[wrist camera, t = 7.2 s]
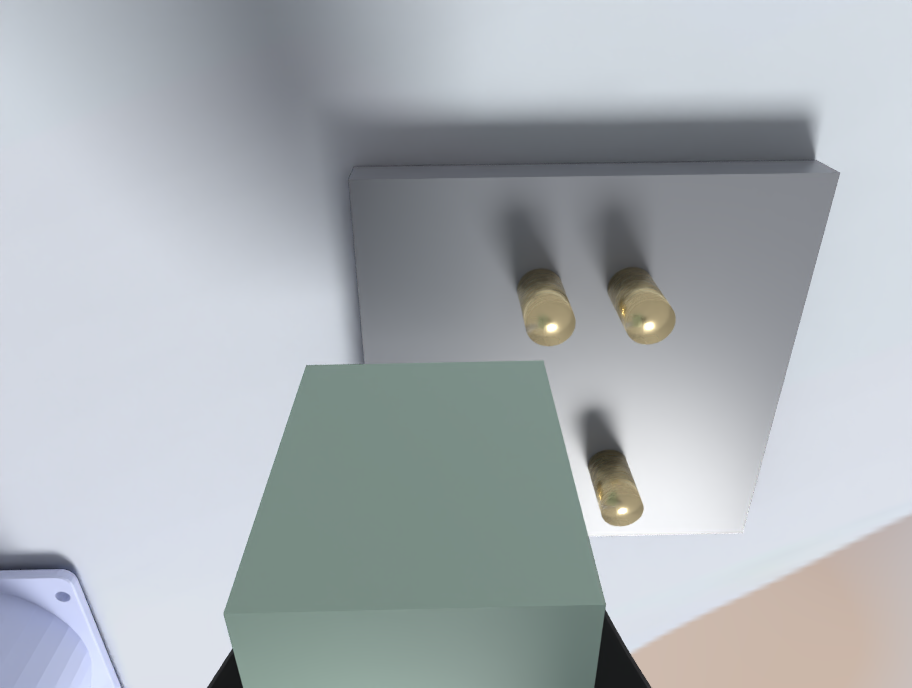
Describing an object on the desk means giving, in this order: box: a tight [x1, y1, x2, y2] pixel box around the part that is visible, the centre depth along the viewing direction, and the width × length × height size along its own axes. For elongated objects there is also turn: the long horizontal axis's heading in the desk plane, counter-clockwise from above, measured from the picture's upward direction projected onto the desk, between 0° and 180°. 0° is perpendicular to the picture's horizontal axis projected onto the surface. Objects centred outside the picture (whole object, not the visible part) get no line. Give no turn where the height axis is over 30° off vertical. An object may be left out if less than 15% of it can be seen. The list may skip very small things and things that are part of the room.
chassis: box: [348, 160, 840, 537], centre depth 19 cm, size 12×12×3 cm
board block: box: [224, 360, 606, 688], centre depth 11 cm, size 8×4×5 cm, turn 1°
